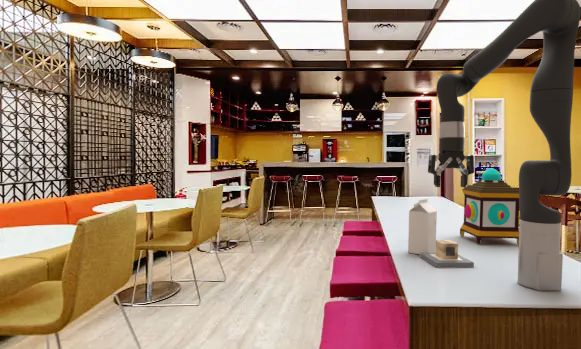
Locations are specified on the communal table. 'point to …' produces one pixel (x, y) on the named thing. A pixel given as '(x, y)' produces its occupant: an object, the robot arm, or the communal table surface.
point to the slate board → (446, 261)
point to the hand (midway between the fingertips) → (450, 187)
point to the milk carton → (422, 228)
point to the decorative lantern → (491, 208)
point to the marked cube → (446, 249)
